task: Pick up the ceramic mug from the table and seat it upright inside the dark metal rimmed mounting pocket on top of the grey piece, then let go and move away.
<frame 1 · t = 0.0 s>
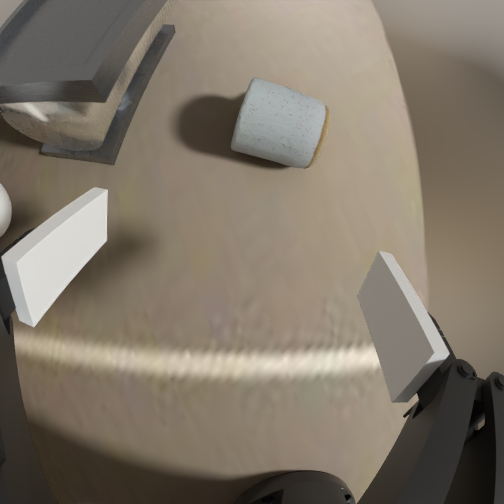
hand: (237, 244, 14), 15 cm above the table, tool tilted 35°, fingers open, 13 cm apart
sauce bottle: (5, 219, 27), on the table
grey piece: (110, 85, 30), on the table
ceramic mug: (274, 131, 31), on the table
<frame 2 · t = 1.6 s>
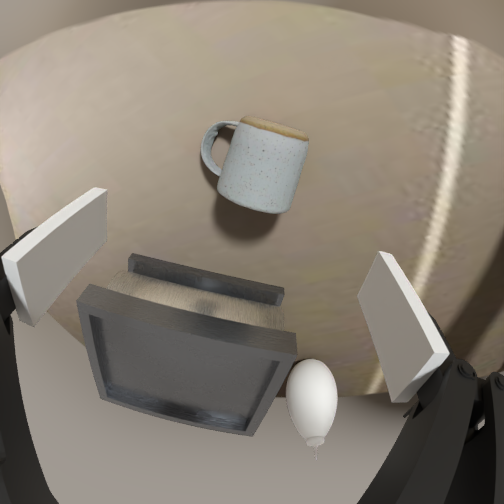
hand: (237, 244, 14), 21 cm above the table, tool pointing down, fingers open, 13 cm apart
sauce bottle: (308, 362, 47), on the table
grey piece: (201, 299, 42), on the table
ceramic mug: (252, 154, 32), on the table
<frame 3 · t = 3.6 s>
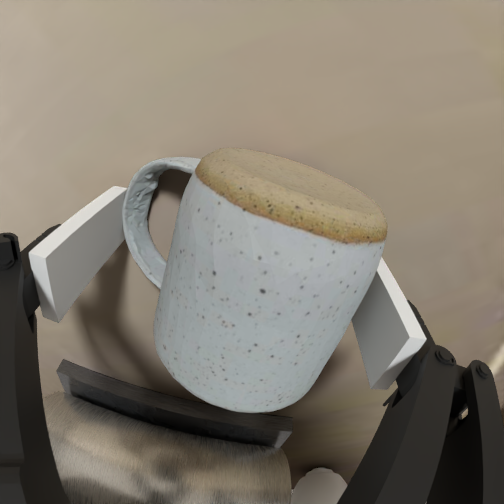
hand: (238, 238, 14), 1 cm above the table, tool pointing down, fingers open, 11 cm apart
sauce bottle: (319, 468, 30), on the table
grey piece: (170, 420, 25), on the table
ceramic mug: (238, 228, 15), on the table, touching gripper
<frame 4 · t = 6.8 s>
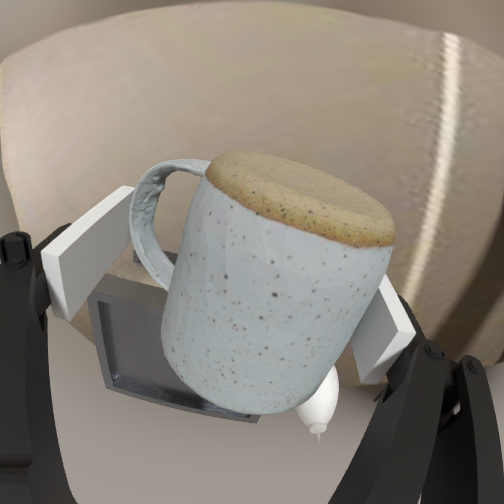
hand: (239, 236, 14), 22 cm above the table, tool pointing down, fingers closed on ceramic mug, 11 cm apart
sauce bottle: (309, 351, 49), on the table
grey piece: (204, 289, 43), on the table
ceramic mug: (244, 230, 15), point 21 cm above the table, touching gripper
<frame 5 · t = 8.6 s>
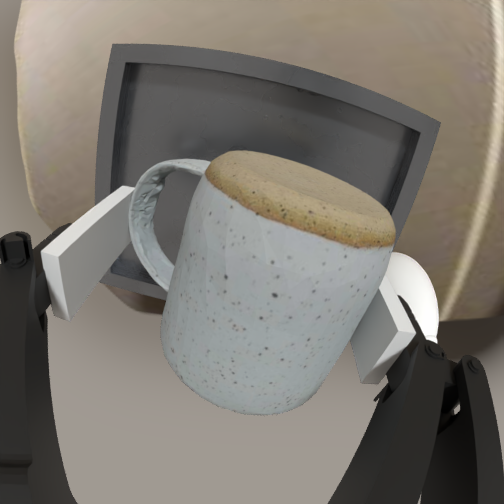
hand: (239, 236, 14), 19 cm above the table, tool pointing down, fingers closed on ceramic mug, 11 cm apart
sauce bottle: (381, 263, 37), on the table
grey piece: (256, 156, 31), on the table
ceramic mug: (244, 230, 15), point 19 cm above the table, touching gripper
when the fingers open (16 cm above the table, at t = 10.0 s): ceramic mug drops 2 cm, resting on grey piece.
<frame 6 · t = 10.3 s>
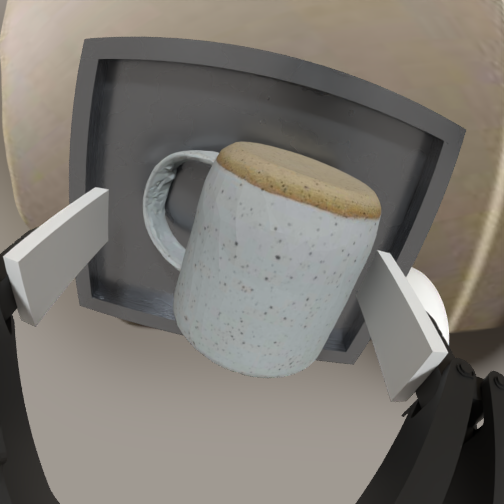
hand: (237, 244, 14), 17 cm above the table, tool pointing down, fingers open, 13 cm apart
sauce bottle: (387, 276, 34), on the table
grey piece: (254, 162, 29), on the table
ceramic mug: (248, 215, 16), point 14 cm above the table, touching grey piece
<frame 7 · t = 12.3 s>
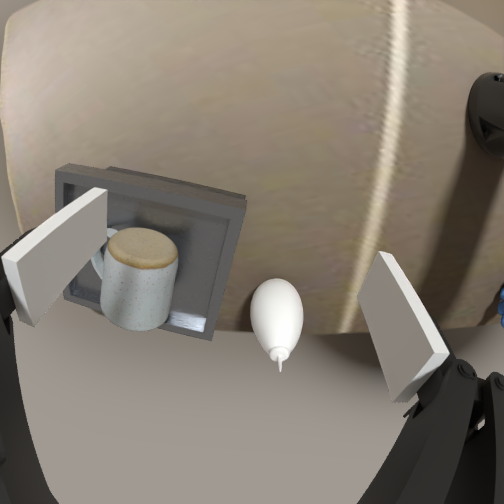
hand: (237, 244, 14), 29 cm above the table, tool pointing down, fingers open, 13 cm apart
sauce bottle: (274, 285, 50), on the table
grey piece: (169, 210, 44), on the table
grapes: (503, 289, 51), on the table
ceramic mug: (138, 256, 32), point 14 cm above the table, touching grey piece
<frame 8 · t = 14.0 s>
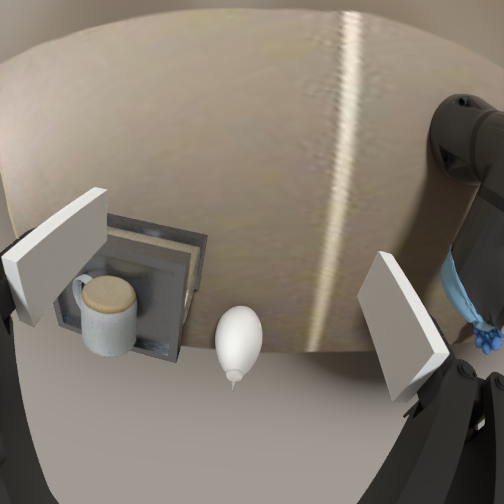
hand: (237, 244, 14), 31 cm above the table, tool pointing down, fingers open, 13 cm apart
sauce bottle: (241, 311, 55), on the table
grey piece: (144, 248, 49), on the table
grapes: (480, 309, 54), on the table
ceramic mug: (111, 295, 37), point 14 cm above the table, touching grey piece
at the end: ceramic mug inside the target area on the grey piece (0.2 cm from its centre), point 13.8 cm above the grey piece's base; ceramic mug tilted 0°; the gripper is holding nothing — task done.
